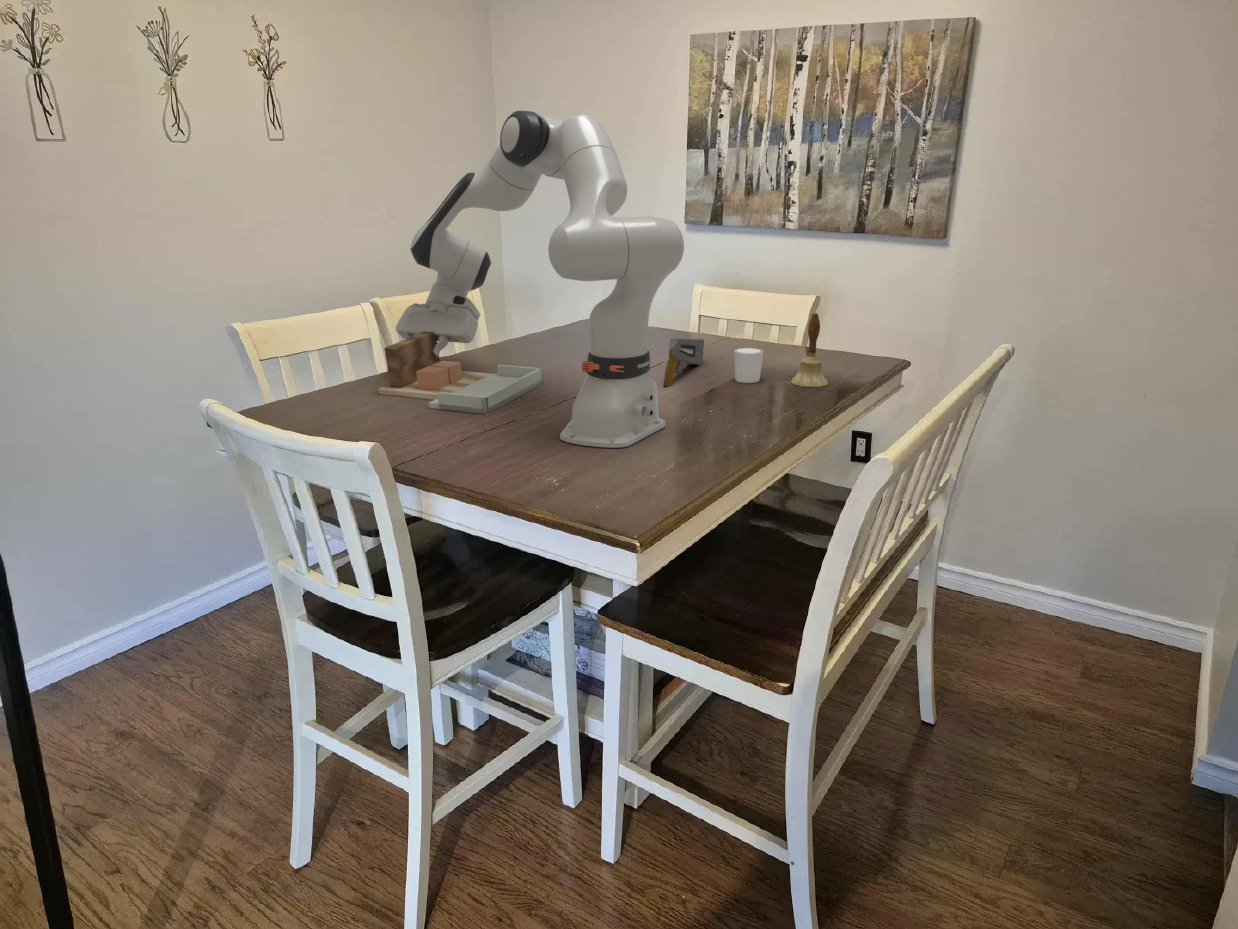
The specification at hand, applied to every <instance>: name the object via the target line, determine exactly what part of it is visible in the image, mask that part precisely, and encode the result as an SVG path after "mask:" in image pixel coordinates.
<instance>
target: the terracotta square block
mask: <svg viewBox="0 0 1238 929" xmlns="http://www.w3.org/2000/svg"><path fill="white" fill-rule="evenodd" d="M430 366H434V367H445V368H448V376H449V384H453V383H455V382H457V381H459V380H461V379H462V371H463V369H462V362H461V361H453V360H452V361H451V360H440V362H438V363H435V364H433V365H430Z"/></svg>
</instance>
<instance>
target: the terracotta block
mask: <svg viewBox="0 0 1238 929" xmlns="http://www.w3.org/2000/svg"><path fill="white" fill-rule="evenodd" d="M416 374H417V384H418V389H426V390H436V391H437V390H439V389H442V388H444V387H446V386H448V385H449V376H448V368H445V367H434V366H428V367H425V368H423V369H420V370H418V371H416Z"/></svg>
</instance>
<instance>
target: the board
mask: <svg viewBox="0 0 1238 929" xmlns="http://www.w3.org/2000/svg"><path fill="white" fill-rule="evenodd" d="M491 374H492V373H486V372H478V371H475V372H474V371H465V370H464V371H463V370H462V379H461V380H459V381H457V382H455V383H453V384H449V385H448V386H446V387H444V388H442V389H439V390H437V391H436V390H426V389H418V384H417V380H416V381H414V382H412V383H410V384H408V385H406V386H404V387H402V388H398V387H390V383H389V384H386V385H385V386H381V387H379V388H377V390H378V391H377V392H378V395H383V396H394V397H404V398H413V399H422V400H423V399H424V400H431V401H433V400H436V399H438V392H448V393H453V392H455V391H457V390H459V389H461V388H463V387H465V386H468V385H470V384H472V383H474V382H476V381H478V380H480V379H482V378H484V377H487V376H489V375H491Z"/></svg>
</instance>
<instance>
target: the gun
mask: <svg viewBox="0 0 1238 929" xmlns="http://www.w3.org/2000/svg"><path fill="white" fill-rule="evenodd" d="M669 340H670V342H669V352H668V358H667V362H666V367H665V371H664V377H663V386H664V387H673V383H674V376H675V374H682V371H683V369H685V368H686V365H688V366H689V365H690V366H702V363H703V358H704V354H705V352H704V349H705V348H704V345H705V339H704V338H679V337H678V338H676V337H673V338H672V337H670V339H669Z"/></svg>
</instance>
